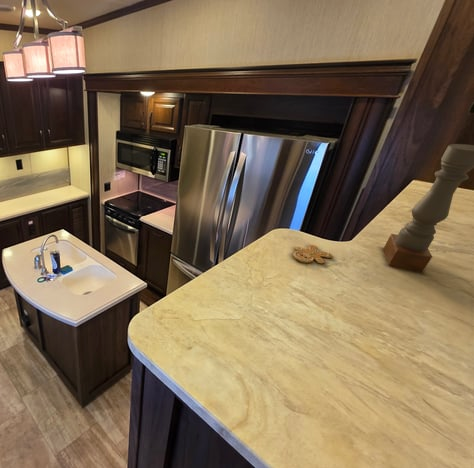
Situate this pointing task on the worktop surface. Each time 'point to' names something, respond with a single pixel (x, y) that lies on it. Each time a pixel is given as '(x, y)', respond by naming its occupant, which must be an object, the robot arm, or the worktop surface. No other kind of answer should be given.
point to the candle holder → (437, 198)
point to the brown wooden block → (405, 256)
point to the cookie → (310, 254)
